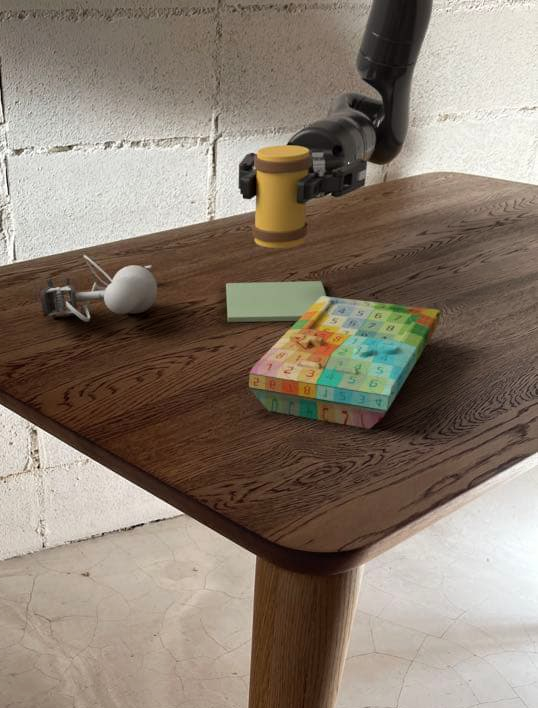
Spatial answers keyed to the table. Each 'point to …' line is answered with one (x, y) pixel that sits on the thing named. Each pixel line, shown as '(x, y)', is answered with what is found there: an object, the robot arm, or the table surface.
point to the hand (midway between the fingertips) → (273, 190)
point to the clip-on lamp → (105, 293)
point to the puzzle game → (343, 360)
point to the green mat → (271, 300)
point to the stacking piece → (280, 196)
